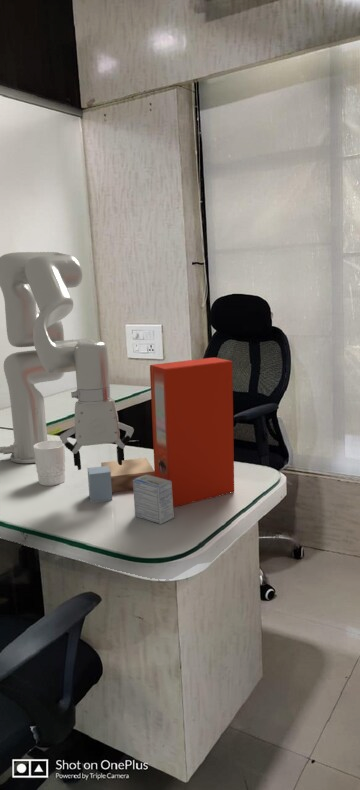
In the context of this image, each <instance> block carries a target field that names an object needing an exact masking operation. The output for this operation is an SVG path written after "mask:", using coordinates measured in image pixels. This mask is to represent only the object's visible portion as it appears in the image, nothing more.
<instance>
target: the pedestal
mask: <svg viewBox="0 0 360 790" xmlns="http://www.w3.org/2000/svg"><path fill="white" fill-rule="evenodd" d="M100 465H101V466H108V467H109V469H110V472H111V486H112V493H114V492H122V491H123V492H124V491H129V490H130V491H131V490H133V480H134V479H136V478H138V477H141V476H144V475H150V476H154V477H155V471H154V467H152V465H151V463H150V462H149V460H148V458H147V457H141V458H133V459H124V460H123V461H122V465H119V464H118V461H117V460H115V461H113V460H112V461H104V462H103V461H102V462H101V463H100ZM101 466H100V467H101Z"/></svg>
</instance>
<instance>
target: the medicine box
mask: <svg viewBox="0 0 360 790" xmlns="http://www.w3.org/2000/svg"><path fill="white" fill-rule="evenodd" d="M132 490H133V501H134V504H133V505H134V516H135V517H138V518H141V519H144V520H146V521H150V522H154V523H156V524H159V525H163V524H164V523H167V522H168V521H170V520H172V519H174V517H175V516H174V515H175V514H174V507H173V497H172V482H171V481H169V480H166V479H162V478H158V477H154V476H150V475H144V476H141V477H138V478H136V479H134V480H133V489H132Z"/></svg>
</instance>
